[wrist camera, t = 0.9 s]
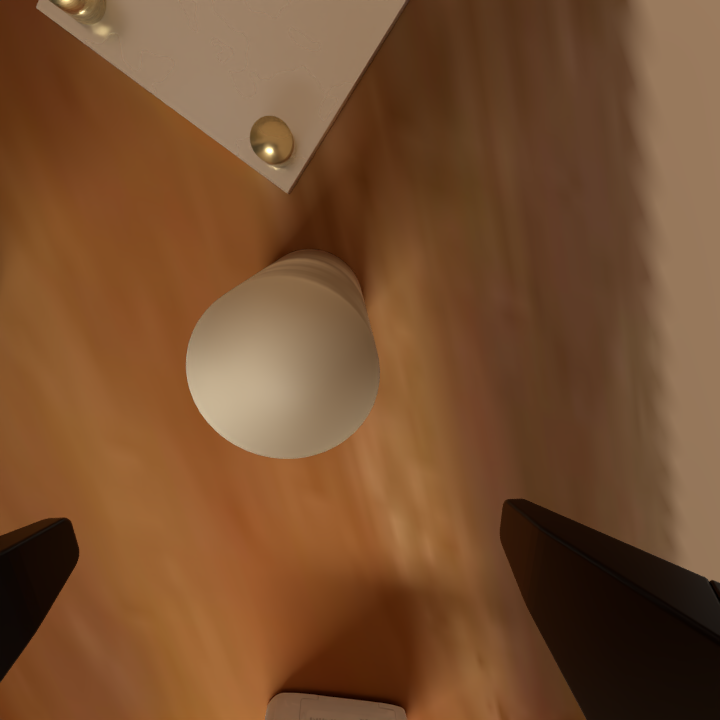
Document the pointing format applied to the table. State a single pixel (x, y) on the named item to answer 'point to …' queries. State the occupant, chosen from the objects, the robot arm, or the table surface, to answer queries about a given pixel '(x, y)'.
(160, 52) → the base plate
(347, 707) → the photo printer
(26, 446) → the table surface
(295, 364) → the maple peg
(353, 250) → the table surface
